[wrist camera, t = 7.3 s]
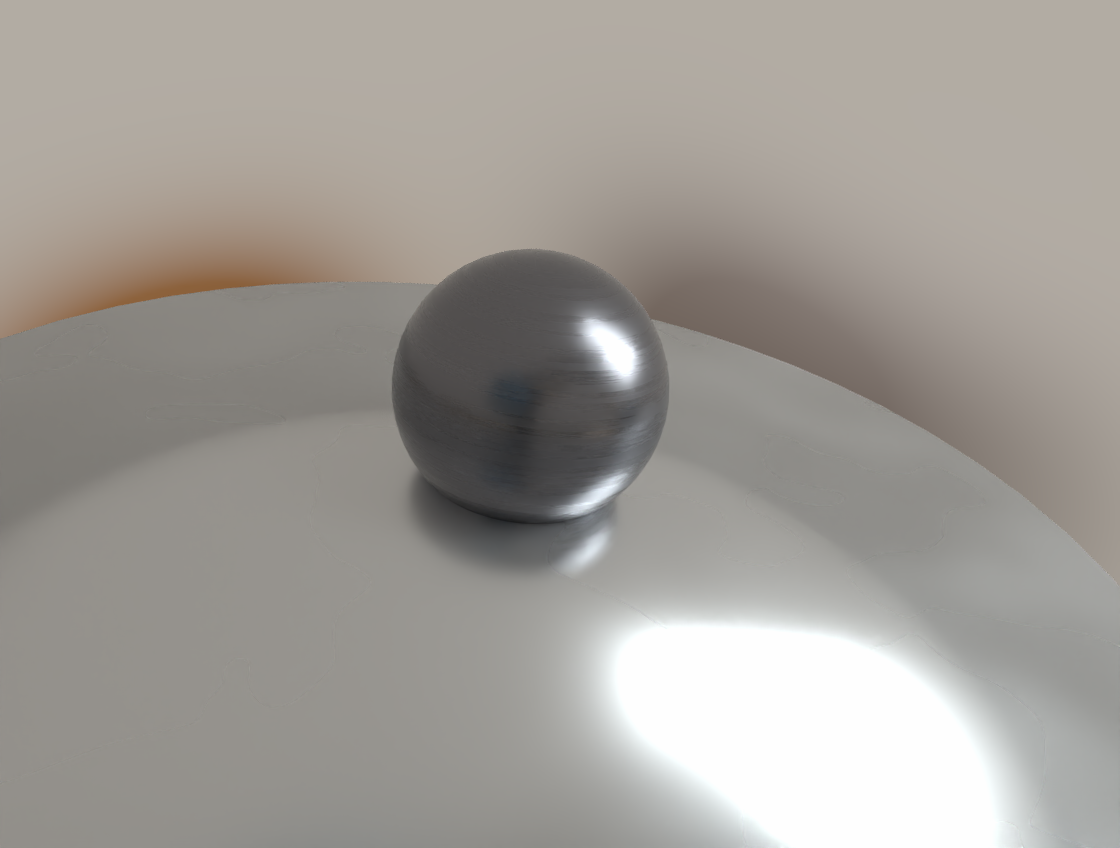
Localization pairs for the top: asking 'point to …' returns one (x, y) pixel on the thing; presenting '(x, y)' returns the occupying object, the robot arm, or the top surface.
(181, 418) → the steel canister
